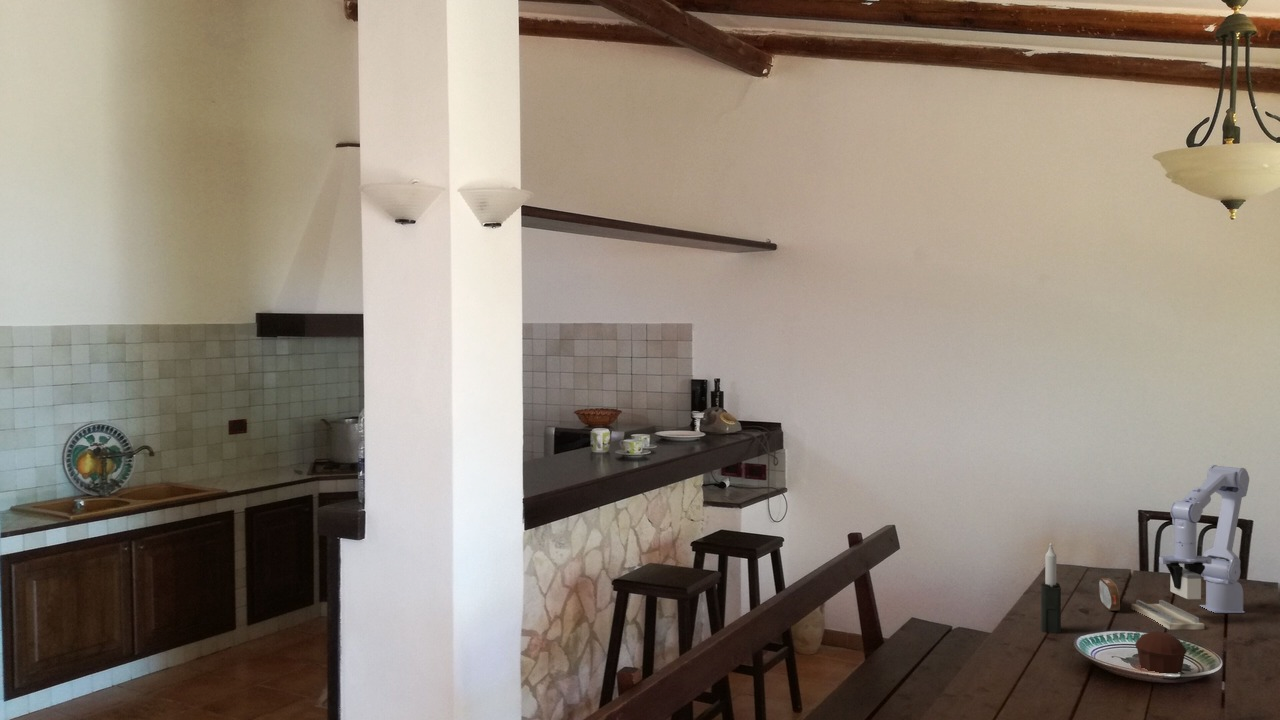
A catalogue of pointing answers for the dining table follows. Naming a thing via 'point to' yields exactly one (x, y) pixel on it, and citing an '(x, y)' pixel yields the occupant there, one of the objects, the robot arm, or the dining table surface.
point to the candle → (1050, 596)
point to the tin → (1109, 594)
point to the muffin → (1160, 652)
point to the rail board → (1168, 615)
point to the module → (1188, 585)
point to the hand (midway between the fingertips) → (1185, 588)
